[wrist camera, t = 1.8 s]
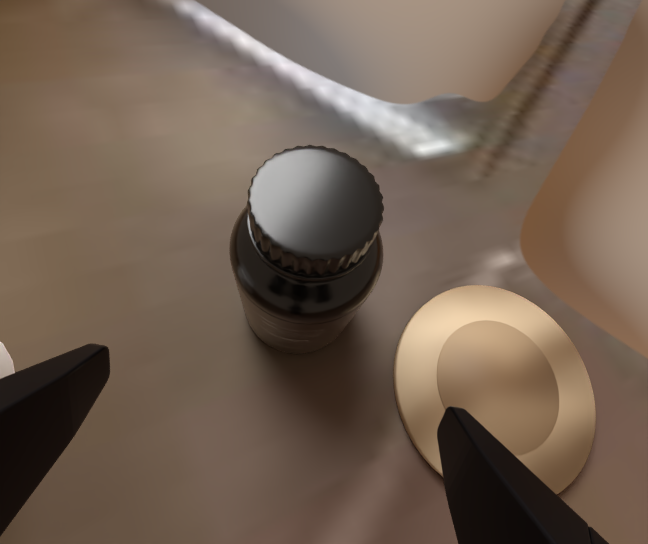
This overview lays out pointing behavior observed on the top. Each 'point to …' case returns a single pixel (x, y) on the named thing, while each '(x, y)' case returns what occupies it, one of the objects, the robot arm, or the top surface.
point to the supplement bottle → (307, 246)
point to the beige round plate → (497, 379)
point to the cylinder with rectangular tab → (5, 362)
